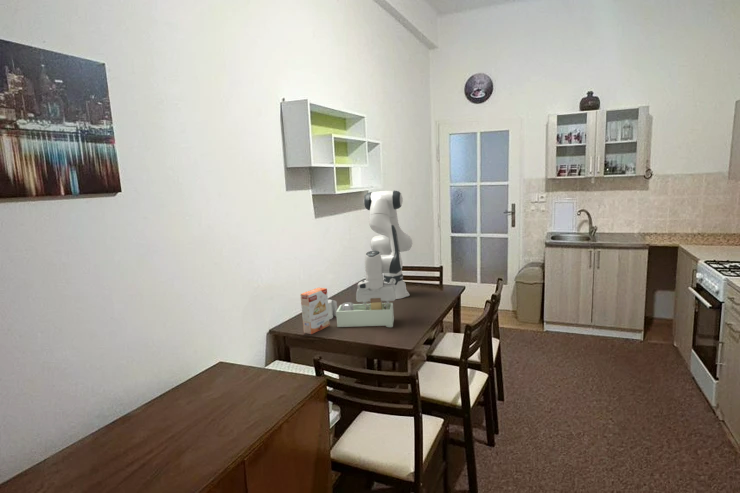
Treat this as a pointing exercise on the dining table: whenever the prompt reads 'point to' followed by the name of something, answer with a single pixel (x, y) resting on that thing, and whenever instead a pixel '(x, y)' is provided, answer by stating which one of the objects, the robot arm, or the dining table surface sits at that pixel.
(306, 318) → the cracker box
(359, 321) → the tote
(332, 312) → the toilet tissue
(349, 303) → the tin can
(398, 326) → the dining table surface
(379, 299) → the oat carton
